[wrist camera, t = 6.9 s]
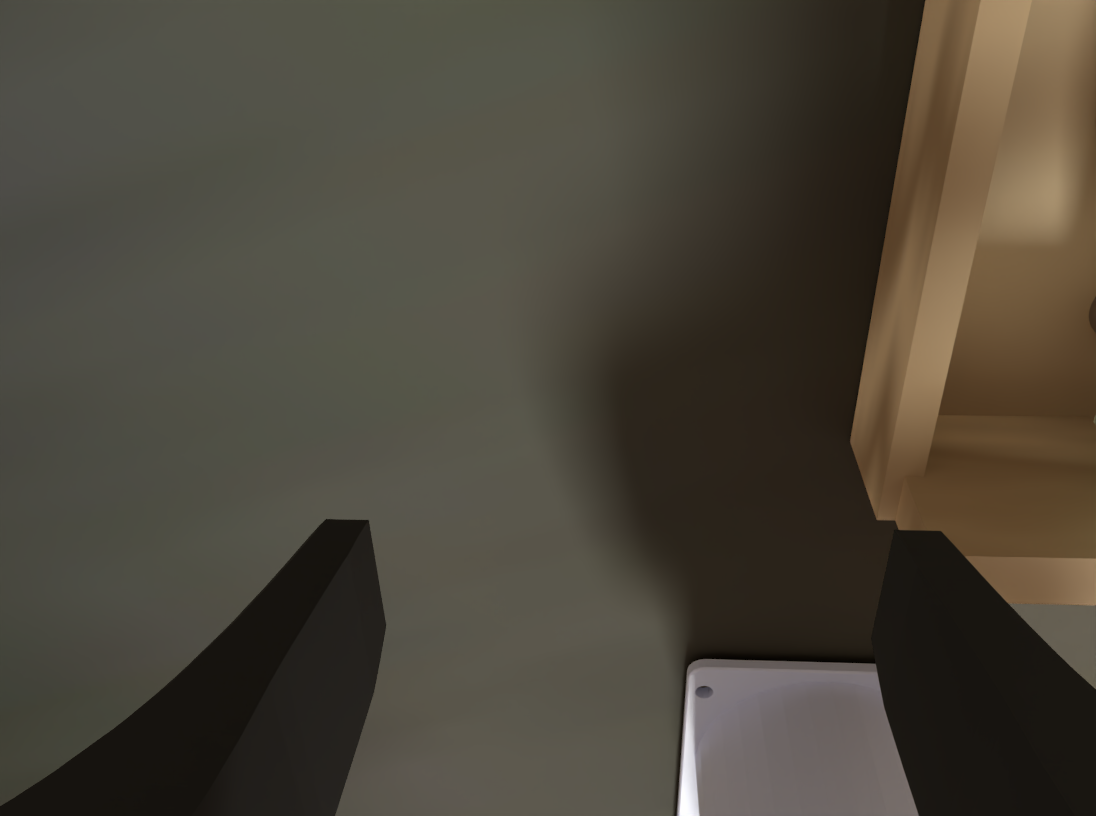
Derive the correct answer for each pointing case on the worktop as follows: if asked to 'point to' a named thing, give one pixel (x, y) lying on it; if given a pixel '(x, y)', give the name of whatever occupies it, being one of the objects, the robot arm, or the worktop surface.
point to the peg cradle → (992, 300)
